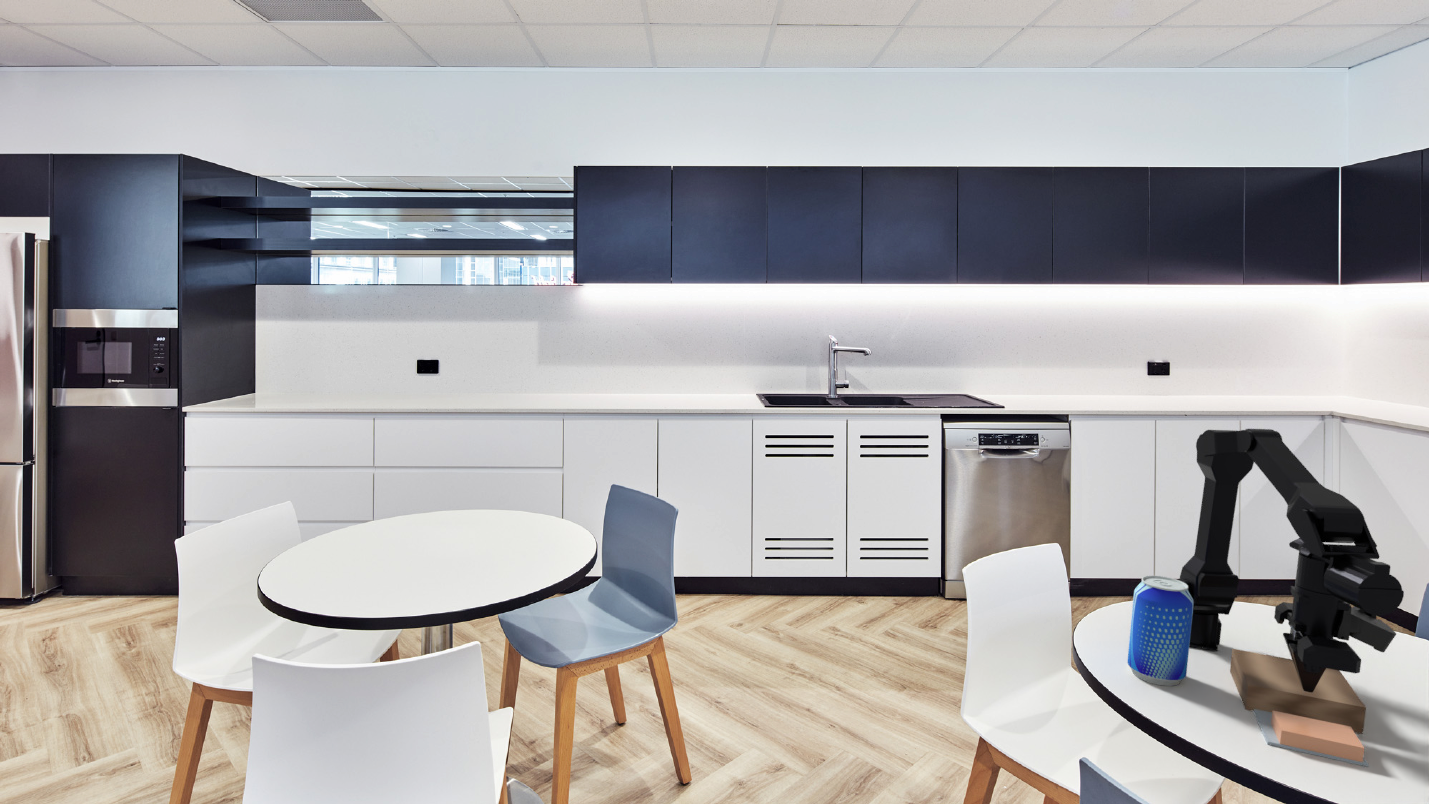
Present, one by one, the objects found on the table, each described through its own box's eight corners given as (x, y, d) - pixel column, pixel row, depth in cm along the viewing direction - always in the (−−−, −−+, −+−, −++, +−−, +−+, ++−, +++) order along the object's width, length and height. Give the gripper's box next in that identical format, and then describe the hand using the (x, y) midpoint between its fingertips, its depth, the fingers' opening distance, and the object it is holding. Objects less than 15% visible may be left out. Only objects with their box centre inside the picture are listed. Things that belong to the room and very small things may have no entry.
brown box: (1245, 709, 115) (1248, 684, 114) (1229, 671, 127) (1232, 648, 127) (1362, 734, 109) (1366, 707, 108) (1334, 691, 121) (1337, 667, 121)
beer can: (1181, 670, 127) (1191, 578, 125) (1188, 693, 119) (1199, 595, 118) (1125, 660, 131) (1133, 570, 129) (1128, 680, 123) (1137, 586, 121)
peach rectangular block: (1272, 710, 110) (1270, 723, 110) (1281, 730, 105) (1279, 743, 105) (1350, 726, 106) (1348, 740, 106) (1364, 748, 101) (1362, 762, 101)
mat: (1267, 744, 105) (1267, 741, 105) (1253, 711, 114) (1253, 708, 114) (1368, 766, 101) (1368, 763, 100) (1345, 730, 109) (1345, 727, 109)
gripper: (1418, 622, 97) (1402, 736, 99) (1369, 578, 114) (1357, 677, 115) (1310, 605, 102) (1297, 715, 104) (1279, 565, 118) (1268, 660, 120)
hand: (1307, 690), depth 111 cm, fingers closed
